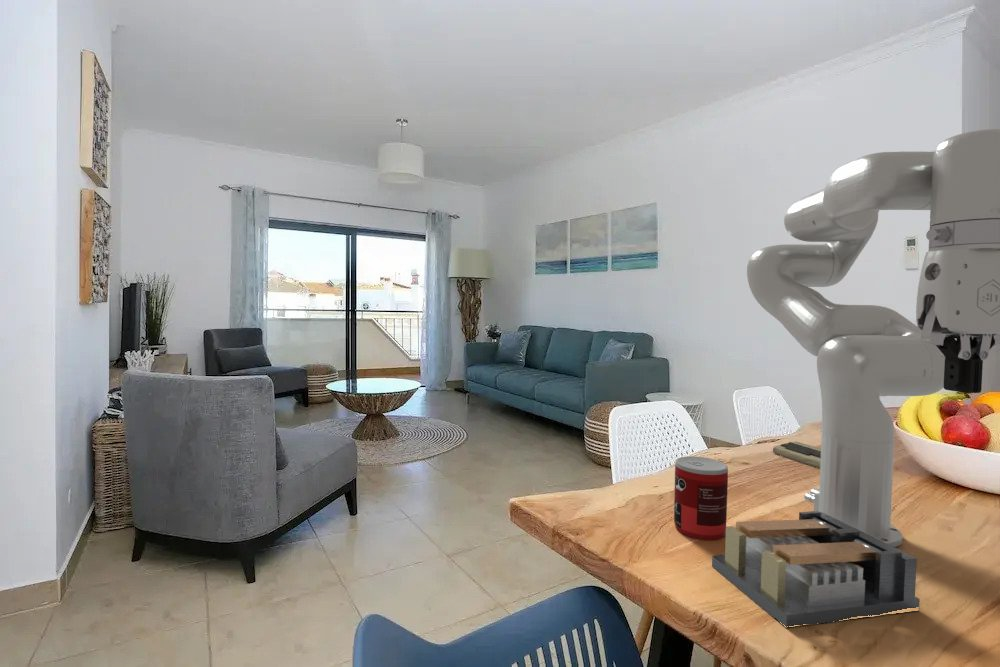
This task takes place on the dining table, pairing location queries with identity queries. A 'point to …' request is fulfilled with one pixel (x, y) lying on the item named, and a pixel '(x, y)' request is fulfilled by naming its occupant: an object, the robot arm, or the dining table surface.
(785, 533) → the strap
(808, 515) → the heatsink block
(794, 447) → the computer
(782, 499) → the dining table surface
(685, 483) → the canned food
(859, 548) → the near strap
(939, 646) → the dining table surface
